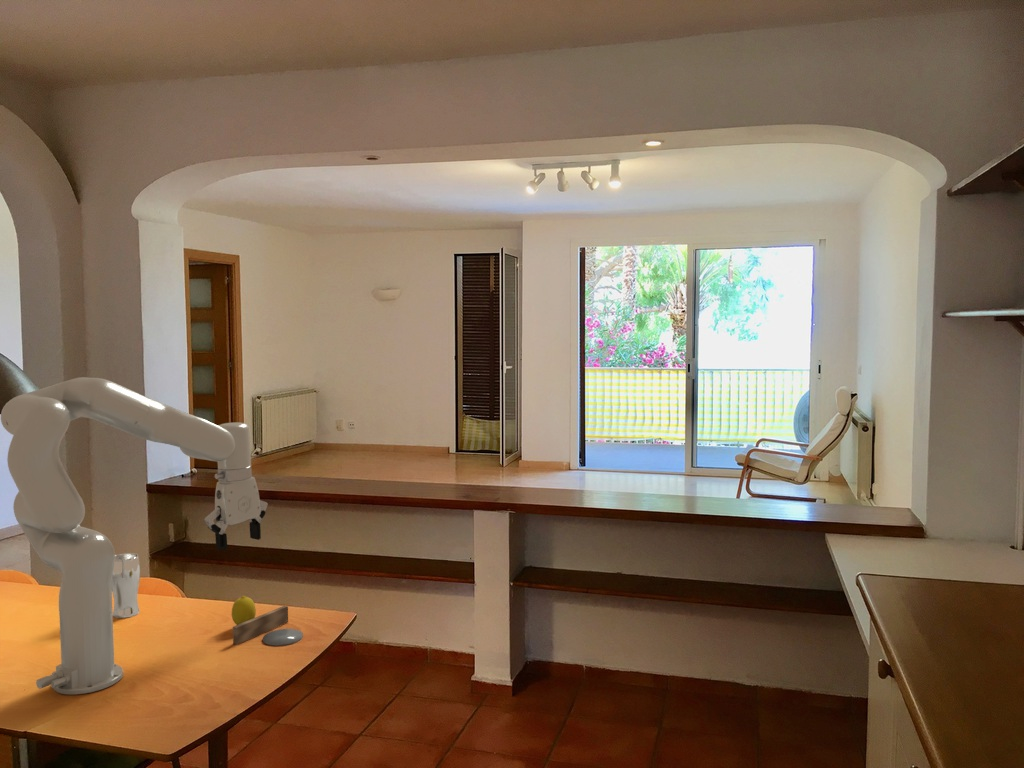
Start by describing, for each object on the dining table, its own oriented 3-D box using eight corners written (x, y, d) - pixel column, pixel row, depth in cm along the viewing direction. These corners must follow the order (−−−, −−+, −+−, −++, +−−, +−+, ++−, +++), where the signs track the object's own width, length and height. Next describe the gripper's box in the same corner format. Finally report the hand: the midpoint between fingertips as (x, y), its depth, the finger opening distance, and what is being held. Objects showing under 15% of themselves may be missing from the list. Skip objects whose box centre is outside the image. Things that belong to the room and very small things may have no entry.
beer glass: (113, 611, 199) (111, 554, 198) (143, 608, 201) (141, 551, 200) (108, 620, 192) (106, 561, 192) (138, 617, 195) (137, 559, 194)
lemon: (251, 632, 184) (250, 599, 184) (228, 632, 185) (227, 599, 184) (259, 623, 190) (258, 592, 189) (237, 623, 190) (236, 592, 190)
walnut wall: (236, 644, 177) (236, 627, 177) (233, 643, 178) (232, 626, 177) (288, 622, 191) (287, 606, 191) (284, 621, 192) (284, 605, 191)
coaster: (282, 648, 175) (282, 646, 175) (254, 641, 179) (254, 638, 179) (310, 635, 183) (310, 633, 183) (283, 628, 187) (283, 626, 187)
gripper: (213, 483, 175) (218, 556, 176) (274, 469, 189) (278, 536, 191) (193, 479, 179) (198, 551, 180) (254, 466, 193) (258, 532, 195)
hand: (239, 544), depth 186 cm, fingers open, 9 cm apart
